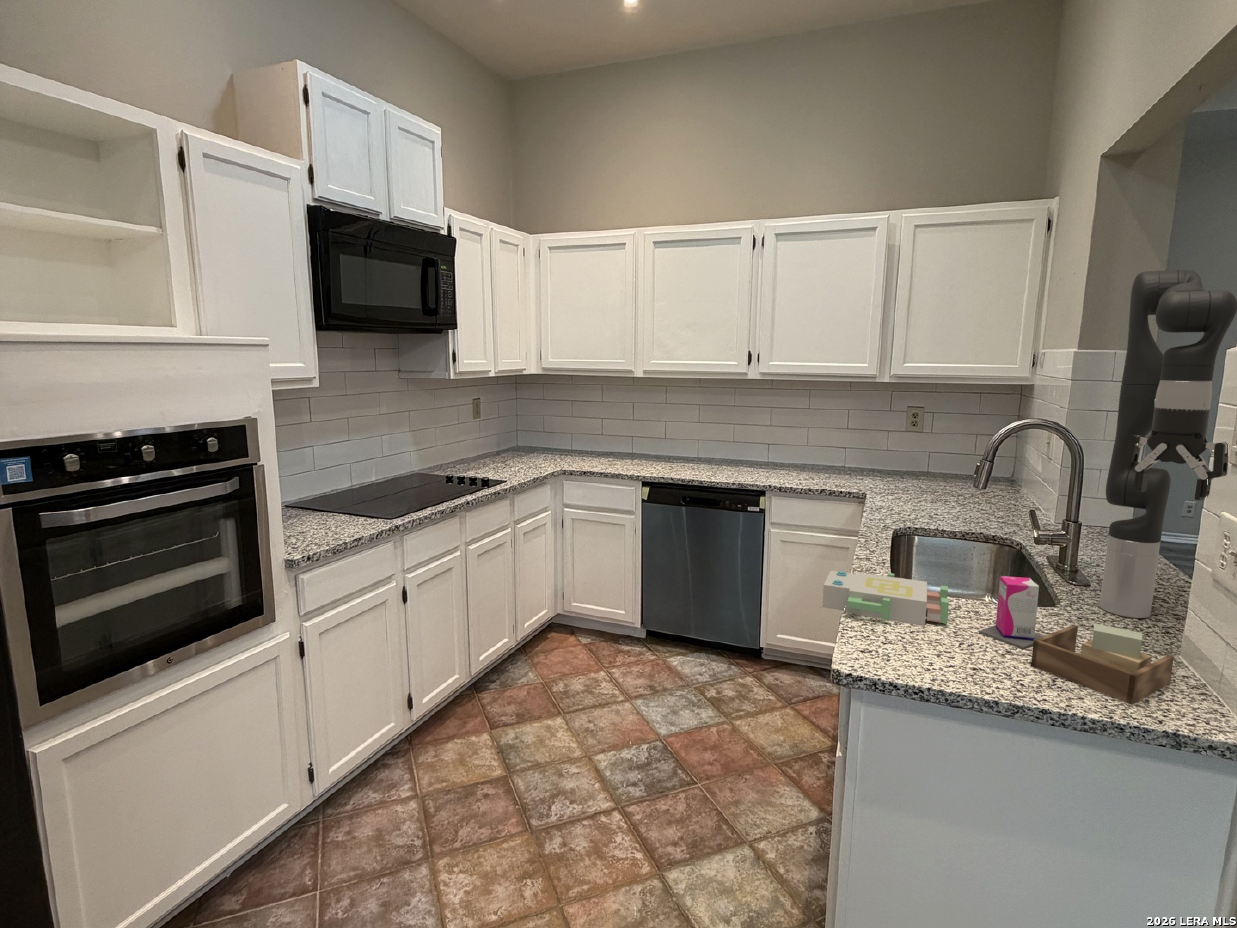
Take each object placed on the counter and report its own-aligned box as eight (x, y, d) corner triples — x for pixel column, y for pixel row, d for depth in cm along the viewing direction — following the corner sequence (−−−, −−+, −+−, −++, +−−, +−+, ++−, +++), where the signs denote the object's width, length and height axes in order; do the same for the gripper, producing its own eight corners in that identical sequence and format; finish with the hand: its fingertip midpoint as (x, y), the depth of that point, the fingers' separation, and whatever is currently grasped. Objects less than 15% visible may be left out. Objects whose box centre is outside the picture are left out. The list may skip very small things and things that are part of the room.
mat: (1003, 624, 140) (1003, 622, 140) (1047, 639, 132) (1047, 637, 132) (978, 633, 136) (979, 630, 135) (1023, 649, 128) (1023, 647, 128)
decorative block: (821, 587, 145) (833, 562, 163) (819, 614, 146) (831, 587, 164) (949, 606, 134) (947, 577, 152) (947, 635, 135) (945, 603, 153)
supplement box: (1025, 629, 136) (1031, 577, 134) (1034, 641, 131) (1040, 586, 129) (994, 626, 138) (999, 574, 136) (1002, 637, 132) (1007, 583, 130)
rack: (1070, 648, 128) (1073, 624, 128) (1170, 682, 115) (1174, 656, 114) (1030, 665, 121) (1033, 640, 120) (1132, 704, 107) (1135, 676, 107)
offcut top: (1092, 640, 123) (1094, 623, 123) (1139, 650, 119) (1141, 632, 118) (1091, 648, 120) (1093, 630, 120) (1139, 658, 116) (1142, 640, 115)
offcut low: (1093, 657, 125) (1095, 637, 125) (1148, 677, 117) (1151, 656, 117) (1079, 663, 123) (1082, 643, 122) (1135, 683, 115) (1138, 662, 114)
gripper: (1242, 408, 111) (1228, 500, 114) (1143, 403, 123) (1132, 487, 126) (1225, 409, 108) (1211, 505, 110) (1125, 404, 120) (1114, 490, 122)
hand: (1169, 495), depth 118 cm, fingers open, 8 cm apart
